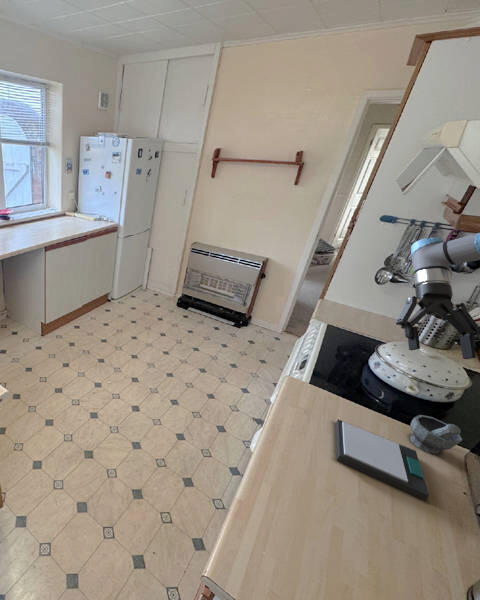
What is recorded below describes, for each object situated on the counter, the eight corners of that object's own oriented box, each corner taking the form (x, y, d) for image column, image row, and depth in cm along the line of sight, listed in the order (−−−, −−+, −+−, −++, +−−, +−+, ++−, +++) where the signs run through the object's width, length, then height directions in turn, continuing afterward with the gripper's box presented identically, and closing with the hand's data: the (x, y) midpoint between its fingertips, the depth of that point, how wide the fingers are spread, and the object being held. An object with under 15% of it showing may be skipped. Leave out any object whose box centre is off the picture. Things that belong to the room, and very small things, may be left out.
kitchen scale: (411, 455, 91) (416, 449, 89) (424, 500, 79) (430, 494, 77) (335, 423, 99) (338, 417, 98) (336, 460, 87) (340, 453, 86)
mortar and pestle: (399, 426, 100) (420, 397, 95) (439, 440, 96) (463, 411, 91) (410, 452, 91) (433, 422, 86) (454, 469, 87) (482, 438, 82)
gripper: (467, 296, 100) (479, 364, 94) (377, 284, 104) (382, 348, 98) (494, 288, 93) (508, 360, 87) (396, 275, 97) (402, 343, 91)
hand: (441, 353), depth 92 cm, fingers open, 13 cm apart
